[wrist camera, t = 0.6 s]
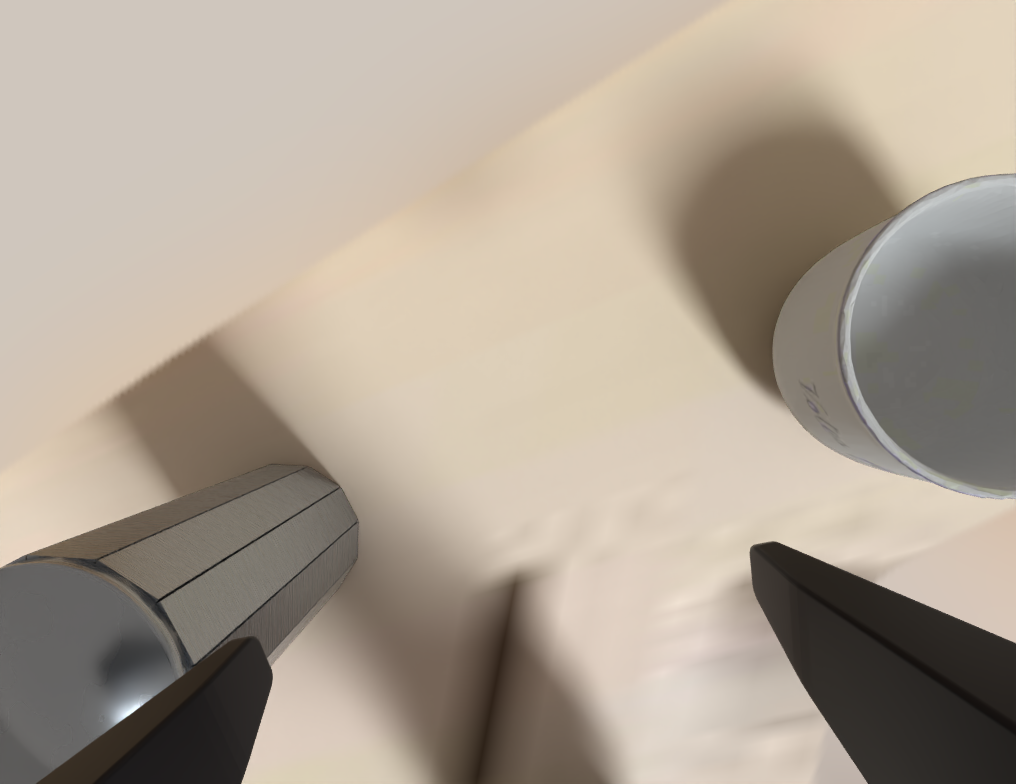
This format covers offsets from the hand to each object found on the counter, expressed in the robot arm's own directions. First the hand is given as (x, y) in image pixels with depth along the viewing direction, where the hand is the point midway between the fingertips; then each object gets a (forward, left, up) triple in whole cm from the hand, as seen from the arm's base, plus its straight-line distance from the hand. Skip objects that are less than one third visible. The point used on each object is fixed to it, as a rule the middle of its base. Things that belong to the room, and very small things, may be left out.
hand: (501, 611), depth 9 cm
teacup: (+6, -18, -16) cm, 25 cm away
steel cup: (-5, +12, -16) cm, 21 cm away
